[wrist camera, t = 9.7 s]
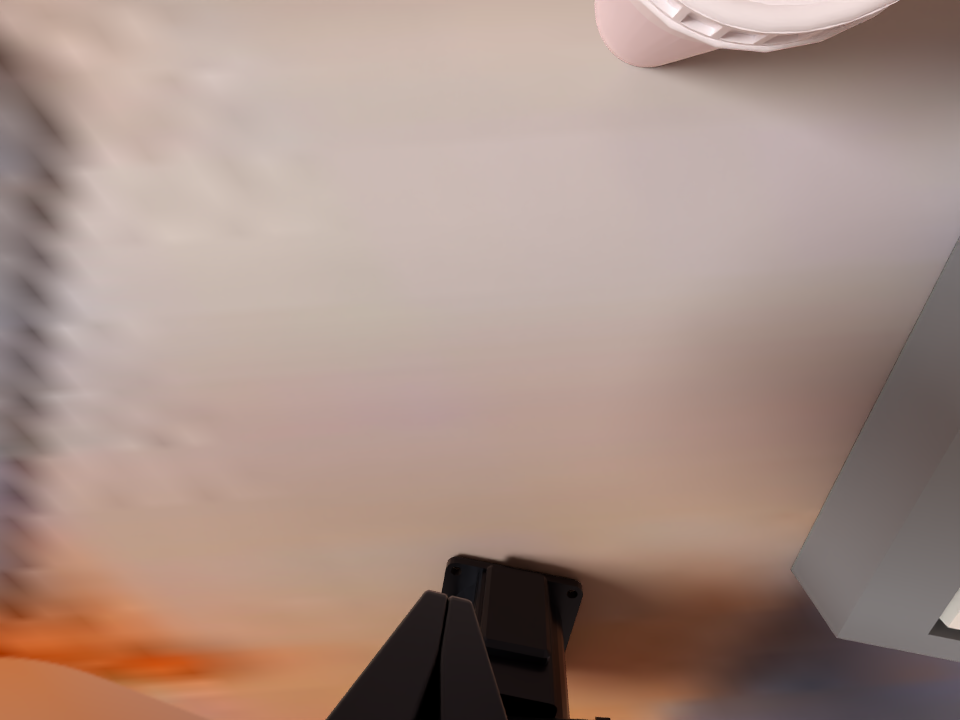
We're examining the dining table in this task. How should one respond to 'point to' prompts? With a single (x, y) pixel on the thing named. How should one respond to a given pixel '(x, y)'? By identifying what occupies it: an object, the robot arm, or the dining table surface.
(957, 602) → the button one
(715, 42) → the smoothie
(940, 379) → the button panel
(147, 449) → the dining table surface
